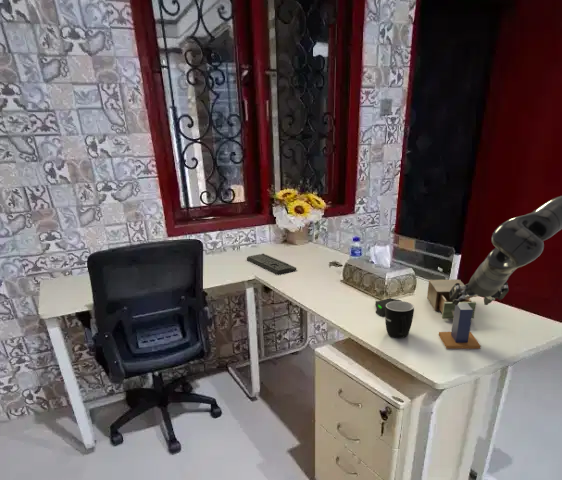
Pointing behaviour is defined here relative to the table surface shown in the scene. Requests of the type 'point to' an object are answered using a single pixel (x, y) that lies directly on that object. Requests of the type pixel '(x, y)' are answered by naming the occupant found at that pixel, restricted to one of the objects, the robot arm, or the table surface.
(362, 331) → the table surface
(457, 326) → the card box
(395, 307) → the mug
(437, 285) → the cabinet
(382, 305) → the black electronic device
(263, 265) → the keyboard
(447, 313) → the drawer
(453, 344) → the cork pad
